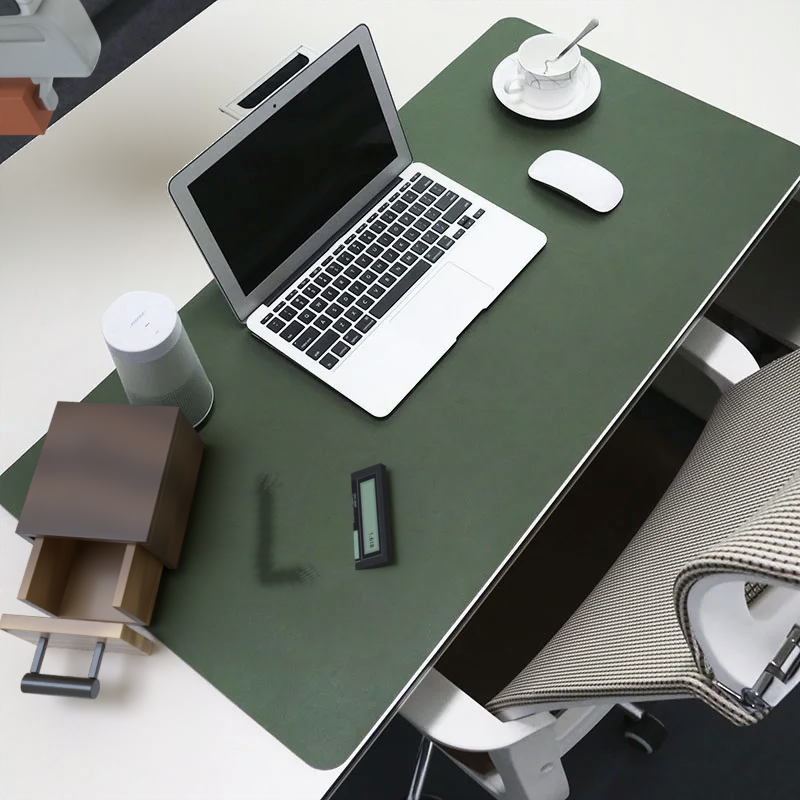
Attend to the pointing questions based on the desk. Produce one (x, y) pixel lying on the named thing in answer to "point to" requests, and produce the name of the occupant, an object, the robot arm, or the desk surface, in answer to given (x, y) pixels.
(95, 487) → the cabinet
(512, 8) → the desk surface
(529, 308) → the desk surface
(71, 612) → the drawer
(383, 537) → the calculator
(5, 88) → the block
